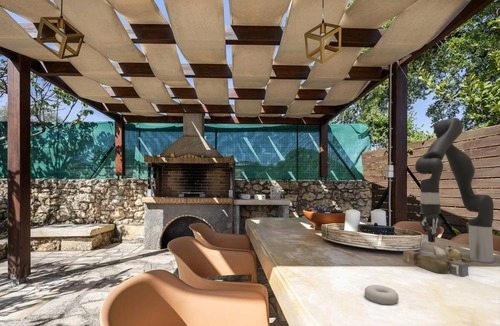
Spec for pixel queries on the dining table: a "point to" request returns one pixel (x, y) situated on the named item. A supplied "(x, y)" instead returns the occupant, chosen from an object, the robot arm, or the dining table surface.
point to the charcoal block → (458, 268)
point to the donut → (381, 294)
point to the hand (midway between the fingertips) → (431, 242)
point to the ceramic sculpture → (449, 254)
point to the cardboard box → (410, 257)
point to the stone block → (433, 264)
